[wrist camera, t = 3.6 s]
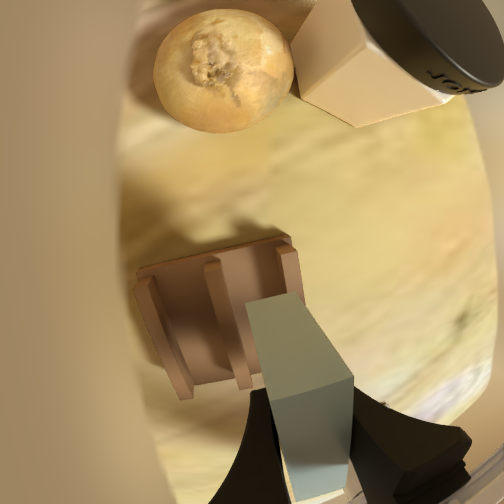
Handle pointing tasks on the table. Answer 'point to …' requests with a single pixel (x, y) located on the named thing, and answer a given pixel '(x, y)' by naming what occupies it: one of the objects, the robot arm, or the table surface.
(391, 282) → the table surface
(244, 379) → the rack
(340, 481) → the pale green prism
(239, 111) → the onion
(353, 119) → the jar
